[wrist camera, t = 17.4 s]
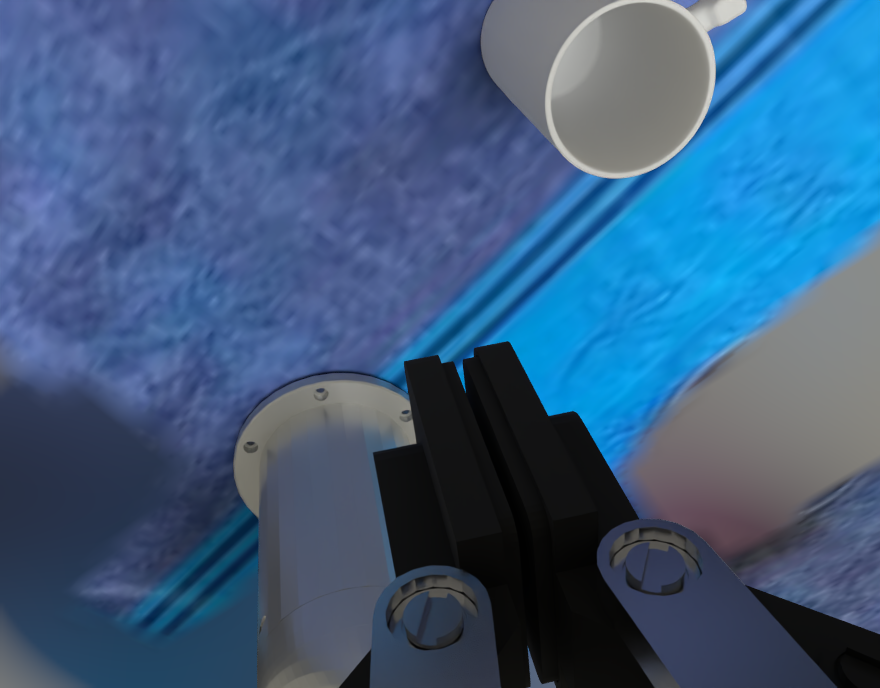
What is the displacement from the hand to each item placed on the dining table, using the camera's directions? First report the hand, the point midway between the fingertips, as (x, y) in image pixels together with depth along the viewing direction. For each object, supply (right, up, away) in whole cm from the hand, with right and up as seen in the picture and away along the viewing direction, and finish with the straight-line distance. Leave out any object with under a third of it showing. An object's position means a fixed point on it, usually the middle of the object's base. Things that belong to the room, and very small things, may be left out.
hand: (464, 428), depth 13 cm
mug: (+6, +18, +28) cm, 34 cm away
